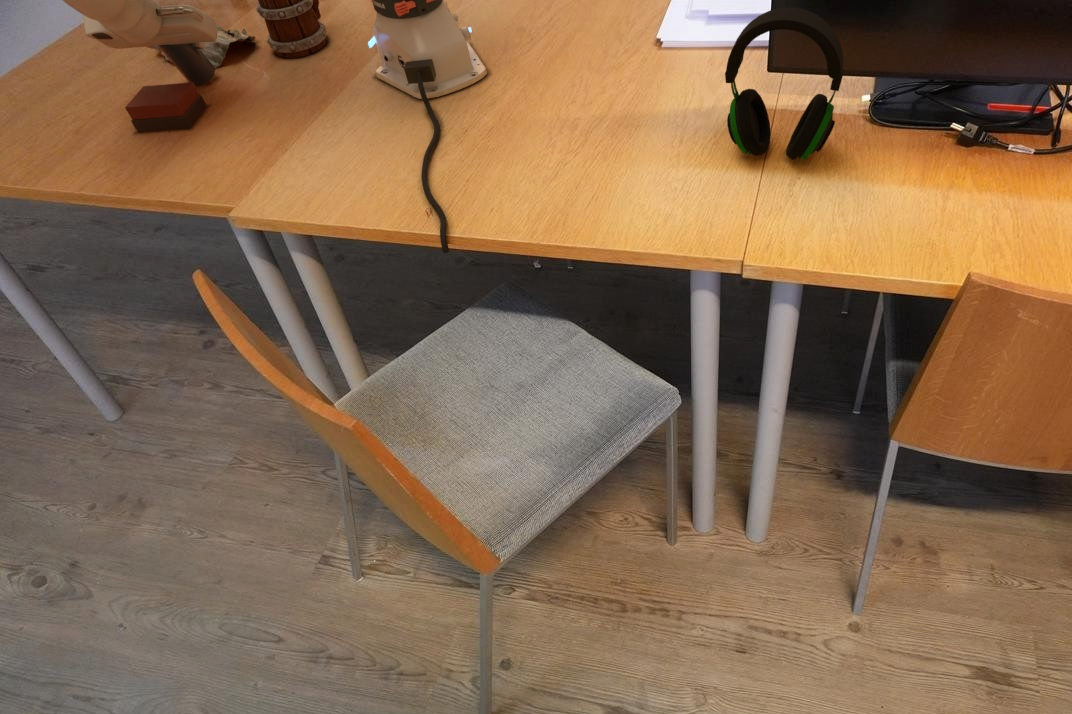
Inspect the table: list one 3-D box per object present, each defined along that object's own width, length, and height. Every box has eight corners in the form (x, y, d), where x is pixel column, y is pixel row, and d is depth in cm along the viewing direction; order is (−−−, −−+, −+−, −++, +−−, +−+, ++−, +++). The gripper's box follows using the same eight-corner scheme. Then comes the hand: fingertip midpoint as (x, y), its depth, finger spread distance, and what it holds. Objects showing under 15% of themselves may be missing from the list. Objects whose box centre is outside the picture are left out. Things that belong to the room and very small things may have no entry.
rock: (225, 88, 153) (275, 46, 160) (210, 57, 147) (261, 14, 154) (139, 55, 159) (190, 15, 166) (121, 23, 153) (174, -16, 160)
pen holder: (212, 84, 148) (180, 45, 138) (185, 87, 148) (150, 47, 139) (217, 61, 150) (185, 20, 140) (190, 63, 150) (156, 23, 141)
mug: (255, 57, 153) (230, -28, 144) (303, 38, 163) (283, -43, 154) (302, 62, 150) (279, -24, 140) (348, 43, 160) (330, -40, 150)
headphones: (826, 175, 109) (846, 32, 94) (717, 164, 114) (720, 26, 99) (835, 140, 115) (856, 0, 100) (731, 131, 119) (736, -5, 104)
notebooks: (190, 128, 137) (176, 103, 133) (137, 132, 138) (122, 107, 134) (207, 106, 142) (194, 81, 139) (156, 109, 143) (142, 85, 140)
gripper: (189, -12, 129) (235, 24, 143) (74, -2, 131) (130, 33, 144) (191, 27, 129) (237, 59, 143) (76, 36, 131) (132, 67, 145)
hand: (182, 46), depth 144 cm, fingers closed on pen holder, 5 cm apart
